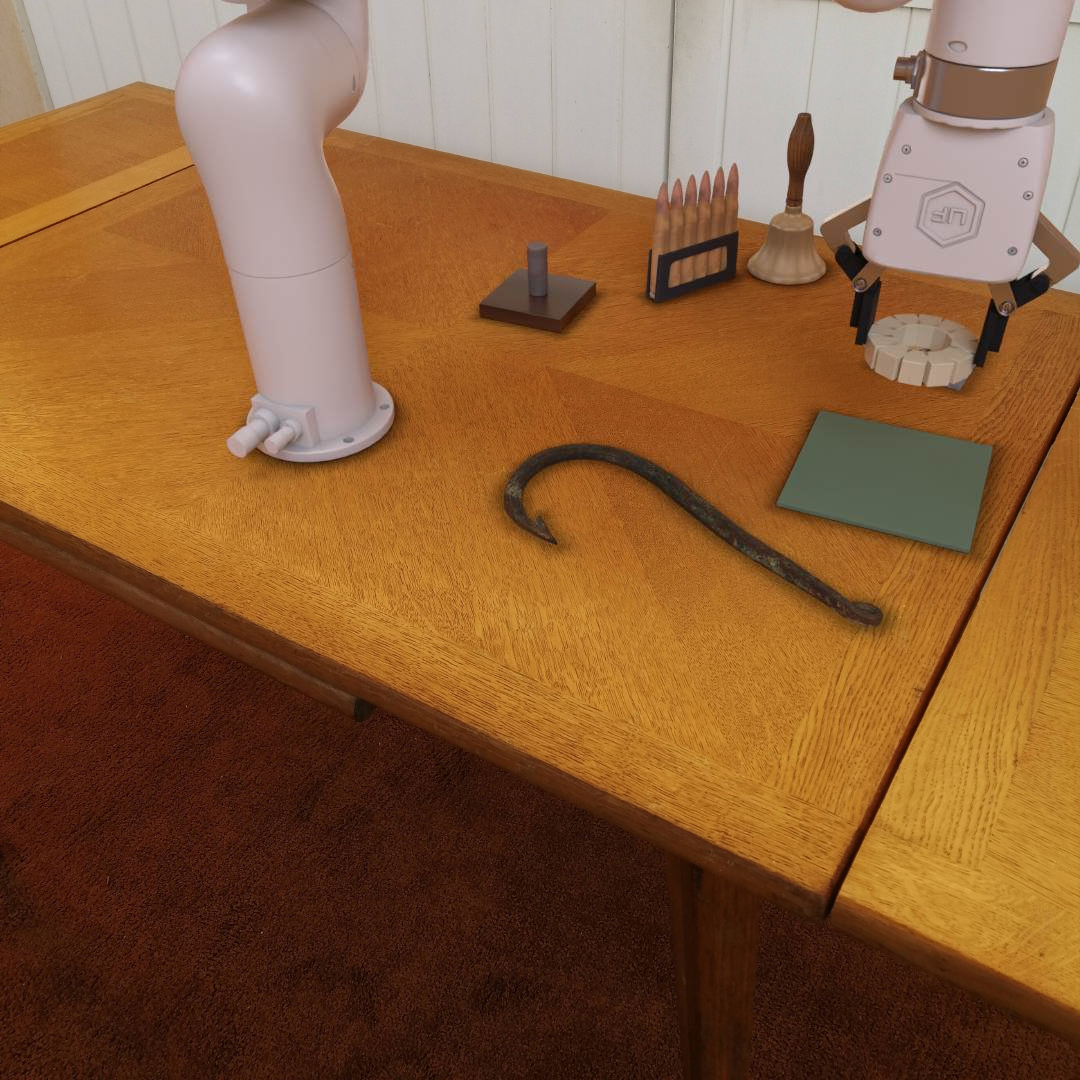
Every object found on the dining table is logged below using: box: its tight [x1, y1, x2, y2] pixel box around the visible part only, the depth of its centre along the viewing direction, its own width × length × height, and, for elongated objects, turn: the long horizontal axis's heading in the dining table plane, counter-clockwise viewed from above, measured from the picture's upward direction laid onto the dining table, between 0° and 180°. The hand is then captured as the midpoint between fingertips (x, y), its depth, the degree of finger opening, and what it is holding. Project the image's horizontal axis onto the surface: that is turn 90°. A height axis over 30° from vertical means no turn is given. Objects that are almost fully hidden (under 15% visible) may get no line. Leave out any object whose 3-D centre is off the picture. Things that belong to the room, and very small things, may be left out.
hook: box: [503, 442, 884, 628], centre depth 75 cm, size 12×30×2 cm, turn 66°
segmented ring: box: [863, 313, 979, 388], centre depth 71 cm, size 7×7×2 cm
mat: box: [775, 409, 994, 554], centre depth 78 cm, size 14×14×1 cm
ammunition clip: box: [645, 162, 740, 304], centre depth 101 cm, size 11×2×12 cm, turn 122°
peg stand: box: [478, 241, 597, 334], centre depth 101 cm, size 9×9×6 cm
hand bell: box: [746, 112, 827, 286], centre depth 103 cm, size 8×8×16 cm
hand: (921, 345), depth 71 cm, fingers closed on segmented ring, 7 cm apart
